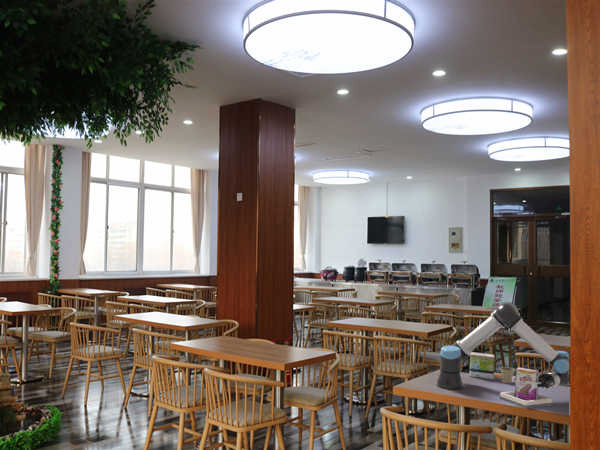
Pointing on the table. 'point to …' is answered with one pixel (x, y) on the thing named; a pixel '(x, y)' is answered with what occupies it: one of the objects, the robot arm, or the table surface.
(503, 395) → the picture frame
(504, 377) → the flower pot
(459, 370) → the robot arm
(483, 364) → the tea box
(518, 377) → the candy bar box
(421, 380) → the table surface
